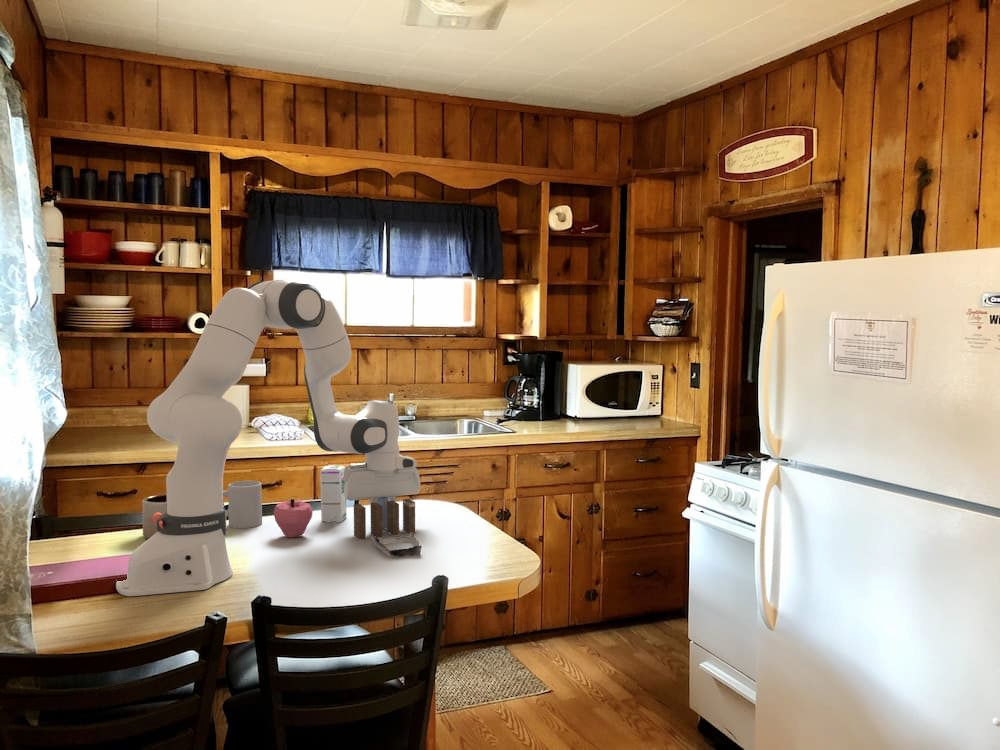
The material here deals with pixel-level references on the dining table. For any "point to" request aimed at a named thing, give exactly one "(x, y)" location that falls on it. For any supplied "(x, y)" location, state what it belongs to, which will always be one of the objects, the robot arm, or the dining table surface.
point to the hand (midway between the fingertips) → (382, 513)
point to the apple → (293, 517)
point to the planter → (152, 513)
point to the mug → (244, 504)
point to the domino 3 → (383, 510)
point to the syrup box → (332, 493)
